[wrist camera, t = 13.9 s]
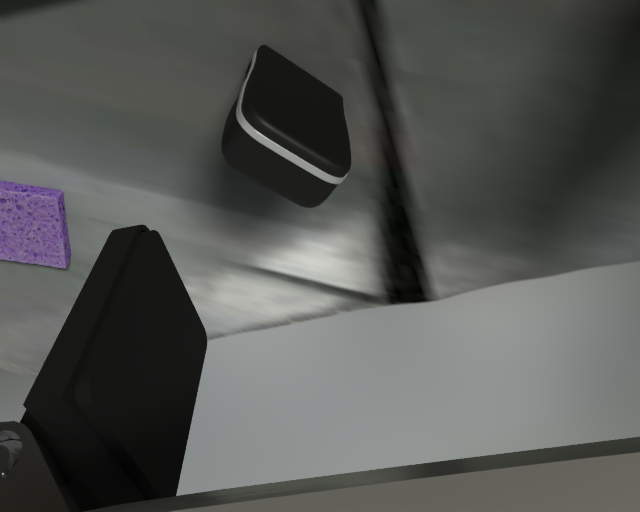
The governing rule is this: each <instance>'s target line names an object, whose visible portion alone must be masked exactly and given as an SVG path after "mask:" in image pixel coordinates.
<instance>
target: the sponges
mask: <svg viewBox="0 0 640 512" xmlns="http://www.w3.org/2000/svg"><path fill="white" fill-rule="evenodd" d="M65 215H66V213H65V207H64V195H63V191H62V190H55V189H48V188H44V187H36V186H35V187H34V186H30V185H20V184H17V183H12V182H5V181H0V259H3V260H9V261H18V262H23V263H30V264H39V265H44V266H52V267H57V268H66V267H67V265H69V262H70V261H69V257H70V255H71V249H70V245H69V235H68V228H67V223H66V221H65Z"/></svg>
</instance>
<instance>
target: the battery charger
mask: <svg viewBox="0 0 640 512" xmlns="http://www.w3.org/2000/svg"><path fill="white" fill-rule="evenodd" d="M222 153H223V155H224V158H225V160H226V161H227V162H228V164H229V165H230V166H232V167H233V168H234V169H236V170H237V171H239V172H240V173H242V174H244V175H245V176H247V177H249V178H251V179H252V180H254V181H256V182H258V183H259V184H261V185H263V186H264V187H266V188H268V189H270V190H272V191H273V192H275V193H277V194H279V195H281V196H282V197H284V198H286V199H288V200H290V201H292V202H293V203H295V204H297V205H299V206H302V207H305V208H313V207H316V206H319V205H320V204H321V203H322V202H323V201H324V200H326V199H327V198H328V196H329V195H330V194H331V193H332V191H333V190H334V189H335V188H336V186H337V185H338V184H340V183H342V181H343V180H344V179H345V178H346V176H347V173H348V171H349V170H350V167H351V150H350V142H349V135H348V130H347V125H346V120H345V116H344V108H343V98H342V96H341V95H340V94H338V93H337V92H335V91H334V90H332V89H331V88H330V87H328V86H327V85H325V84H324V83H322V82H321V81H319V80H318V79H316V78H315V77H313V76H312V75H310V74H309V73H307V72H306V71H304V70H303V69H301V68H300V67H298V66H297V65H295V64H294V63H292V62H291V61H289V60H288V59H286V58H285V57H283V56H282V55H280V54H279V53H277V52H276V51H274V50H273V49H271V48H270V47H268V46H266V45H262V46H260V48H259V49H258V51H255V53H254V55H253V57H252V61H251V62H250V64H249V66H248V70H247V72H246V77H245V81H244V84H243V86H242V89H241V91H240V93H239V96H238V98H237V100H236V101H235V103H234V105H233V106H232V108H231V110H230V113H229V115H228V117H227V120H226V124H225V127H224V132H223V136H222Z"/></svg>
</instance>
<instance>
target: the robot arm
mask: <svg viewBox="0 0 640 512" xmlns="http://www.w3.org/2000/svg"><path fill="white" fill-rule="evenodd" d="M206 348H207V336H206V331H205V328H204V326H203V324H202V322H201V320H200V318H199V316H198V314H197V311H196V309H195V307H194V305H193V303H192V301H191V299H190V297H189V295H188V293H187V290H186V288H185V286H184V284H183V282H182V280H181V278H180V276H179V274H178V272H177V269H176V267H175V265H174V263H173V261H172V259H171V257H170V255H169V253H168V251H167V248H166V246H165V244H164V242H163V240H162V238H161V236H160V234H159V233H158V232H157V231H155V230H152V231H150V230H149V229H148V228H147V227H146V226H145V225H137V226H132V227H126V228H121V229H116V230H113V231H112V232H111V233H110V235H109V237H108V239H107V241H106V243H105V245H104V247H103V249H102V251H101V253H100V255H99V257H98V259H97V260H96V262H95V264H94V266H93V268H92V270H91V272H90V274H89V276H88V278H87V280H86V282H85V284H84V286H83V288H82V290H81V292H80V294H79V296H78V298H77V300H76V302H75V304H74V306H73V308H72V310H71V312H70V313H69V315H68V317H67V319H66V321H65V323H64V325H63V327H62V329H61V331H60V333H59V335H58V337H57V339H56V341H55V343H54V345H53V347H52V349H51V351H50V353H49V355H48V357H47V359H46V361H45V363H44V365H43V366H42V368H41V370H40V372H39V374H38V376H37V378H36V380H35V382H34V384H33V386H32V388H31V390H30V392H29V394H28V396H27V398H26V400H25V402H24V404H23V405H24V407H25V408H26V412H25V413H24V415H23V417H22V419H21V421H20V423H19V422H15V421H9V422H0V512H640V437H635V438H626V439H618V440H609V441H602V442H594V443H585V444H577V445H569V446H561V447H553V448H544V449H537V450H529V451H521V452H512V453H504V454H496V455H488V456H480V457H473V458H465V459H456V460H448V461H440V462H432V463H424V464H416V465H408V466H401V467H393V468H384V469H376V470H369V471H361V472H353V473H345V474H339V475H330V476H322V477H315V478H307V479H299V480H292V481H284V482H276V483H268V484H261V485H253V486H245V487H237V488H230V489H222V490H215V491H208V492H202V493H194V494H188V495H181V496H176V493H177V488H178V484H179V479H180V473H181V469H182V464H183V459H184V455H185V450H186V445H187V440H188V435H189V430H190V426H191V421H192V416H193V411H194V406H195V401H196V397H197V392H198V387H199V382H200V377H201V373H202V368H203V363H204V358H205V353H206Z"/></svg>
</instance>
